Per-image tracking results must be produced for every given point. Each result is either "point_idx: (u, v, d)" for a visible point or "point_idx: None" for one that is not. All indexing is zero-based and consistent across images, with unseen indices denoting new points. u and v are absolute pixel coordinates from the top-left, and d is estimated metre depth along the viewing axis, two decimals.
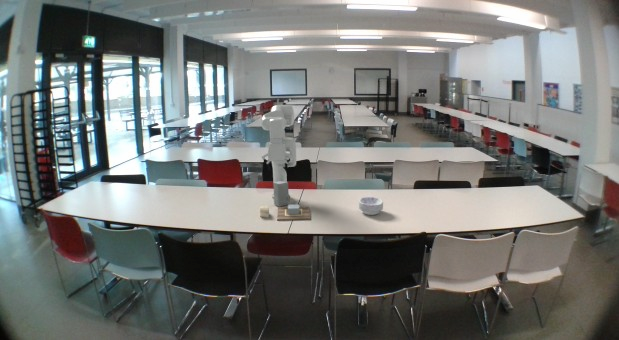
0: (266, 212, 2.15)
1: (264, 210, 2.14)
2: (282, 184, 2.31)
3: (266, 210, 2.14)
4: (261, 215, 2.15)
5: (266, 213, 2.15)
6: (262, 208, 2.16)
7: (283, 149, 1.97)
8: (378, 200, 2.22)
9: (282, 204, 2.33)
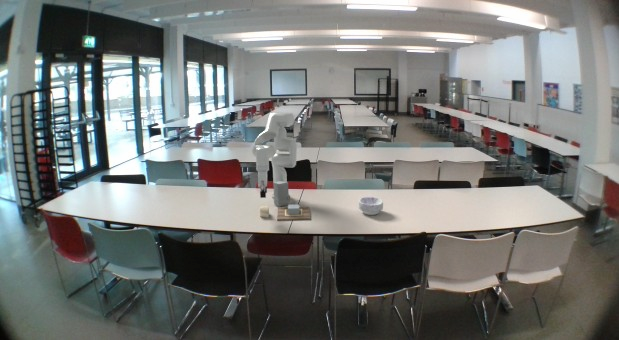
0: (266, 212, 2.15)
1: (264, 210, 2.14)
2: (282, 184, 2.31)
3: (266, 210, 2.14)
4: (261, 215, 2.15)
5: (266, 213, 2.15)
6: (262, 208, 2.16)
7: None
8: (378, 200, 2.22)
9: (282, 204, 2.33)
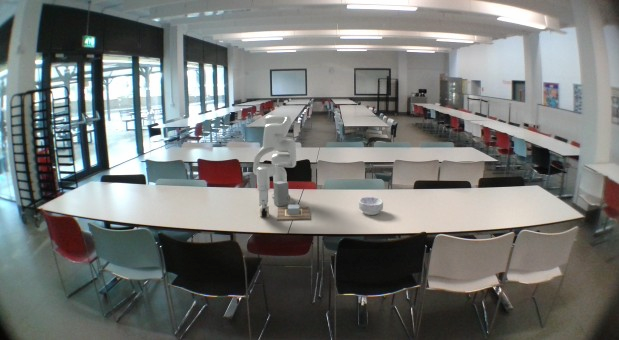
0: None
1: None
2: (282, 184, 2.31)
3: None
4: (261, 215, 2.15)
5: None
6: None
7: None
8: (378, 200, 2.22)
9: (282, 204, 2.33)
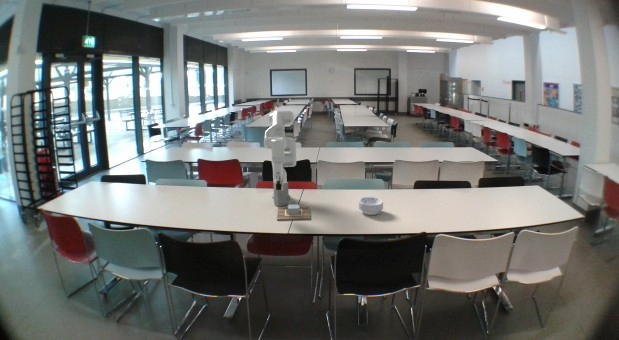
0: None
1: None
2: None
3: None
4: (275, 188, 2.12)
5: None
6: None
7: None
8: (378, 200, 2.22)
9: (282, 204, 2.33)
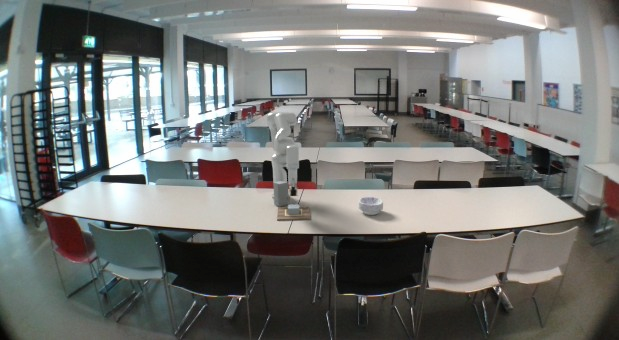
0: None
1: None
2: (282, 184, 2.31)
3: None
4: (290, 194, 2.14)
5: None
6: None
7: None
8: (378, 200, 2.22)
9: (282, 204, 2.33)
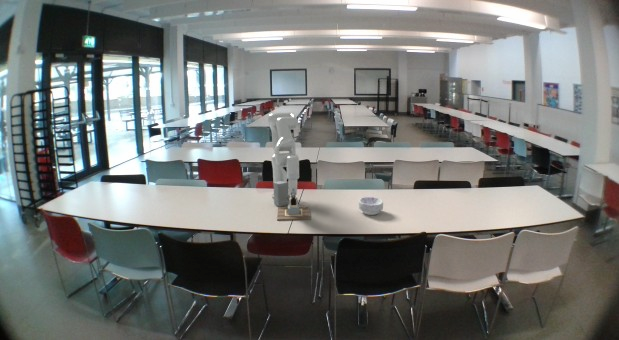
0: None
1: None
2: (282, 184, 2.31)
3: None
4: (290, 206, 2.16)
5: None
6: None
7: None
8: (378, 200, 2.22)
9: (282, 204, 2.33)
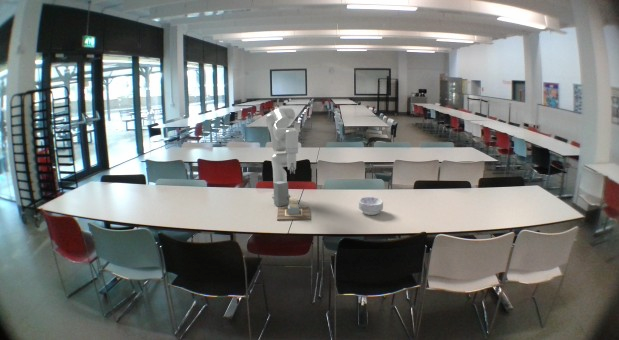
0: (295, 203, 2.15)
1: (293, 201, 2.15)
2: (282, 184, 2.31)
3: (295, 201, 2.15)
4: (290, 206, 2.16)
5: (295, 204, 2.16)
6: (291, 199, 2.17)
7: None
8: (378, 200, 2.22)
9: (282, 204, 2.33)
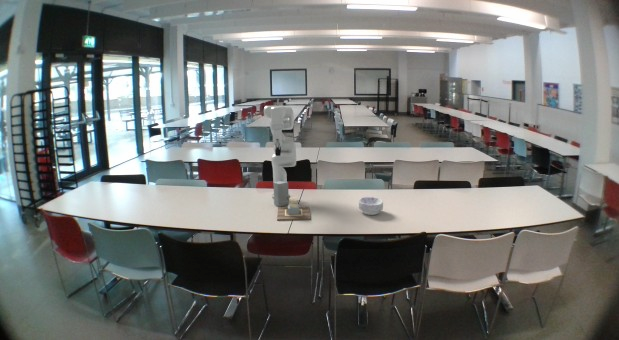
0: (295, 203, 2.15)
1: (293, 201, 2.15)
2: (282, 184, 2.31)
3: (295, 201, 2.15)
4: (290, 206, 2.16)
5: (295, 204, 2.16)
6: (291, 199, 2.17)
7: None
8: (378, 200, 2.22)
9: (282, 204, 2.33)
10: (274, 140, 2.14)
